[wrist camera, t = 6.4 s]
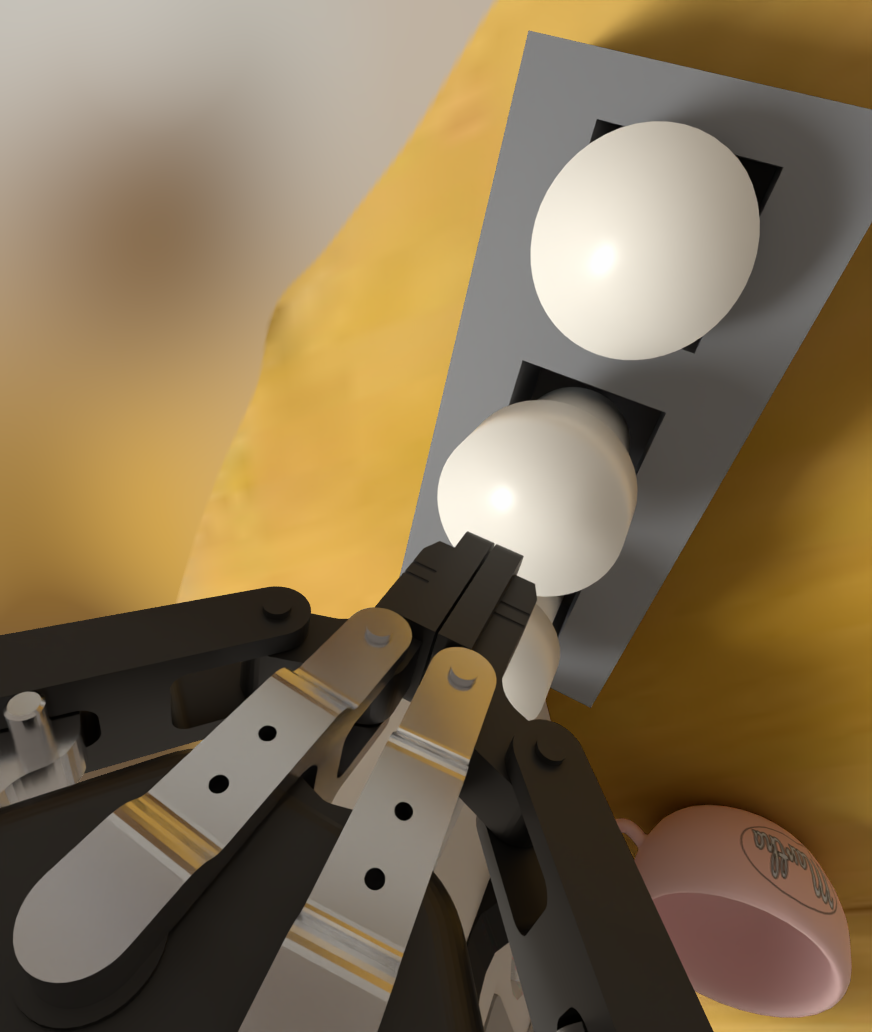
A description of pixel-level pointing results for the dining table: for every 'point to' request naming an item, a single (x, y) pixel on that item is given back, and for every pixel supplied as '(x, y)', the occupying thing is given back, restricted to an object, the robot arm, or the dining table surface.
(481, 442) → the knob
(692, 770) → the dining table surface
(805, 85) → the dining table surface
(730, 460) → the mount
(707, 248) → the knob
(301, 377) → the dining table surface
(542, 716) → the rounded white slab
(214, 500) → the dining table surface
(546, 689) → the knob
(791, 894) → the mug
